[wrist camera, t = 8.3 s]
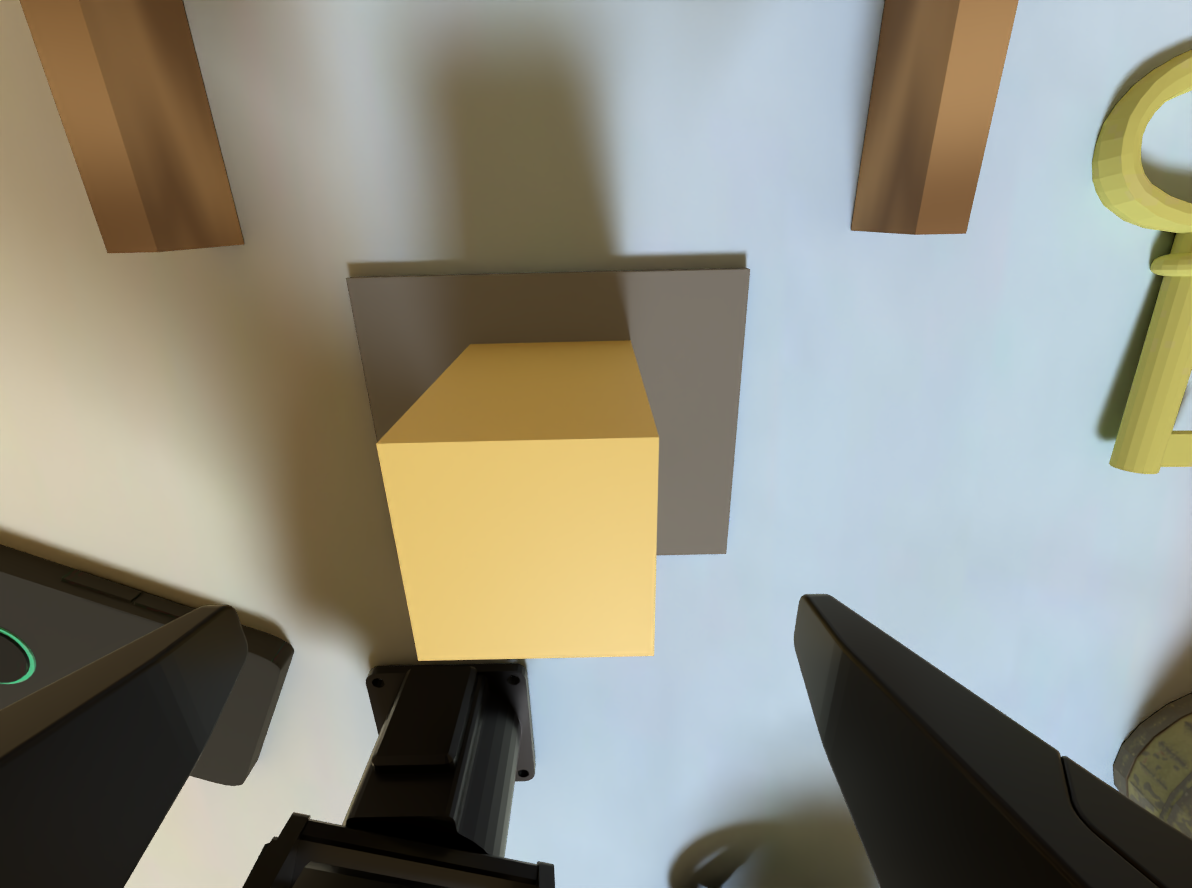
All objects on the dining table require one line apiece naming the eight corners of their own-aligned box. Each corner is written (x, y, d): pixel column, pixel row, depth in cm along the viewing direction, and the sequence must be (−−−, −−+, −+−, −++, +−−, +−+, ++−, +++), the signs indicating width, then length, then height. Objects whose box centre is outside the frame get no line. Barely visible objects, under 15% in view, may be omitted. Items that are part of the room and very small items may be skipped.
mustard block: (630, 483, 19) (654, 655, 12) (486, 486, 19) (418, 660, 12) (630, 340, 17) (658, 437, 10) (469, 344, 17) (376, 444, 10)
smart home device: (-341, 462, 18) (282, 663, 21) (-263, 442, 19) (304, 632, 23) (-305, 644, 20) (238, 795, 24) (-240, 613, 22) (261, 759, 25)
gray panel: (723, 547, 20) (726, 553, 20) (403, 554, 20) (400, 560, 20) (746, 268, 17) (750, 269, 16) (351, 276, 17) (346, 278, 16)
